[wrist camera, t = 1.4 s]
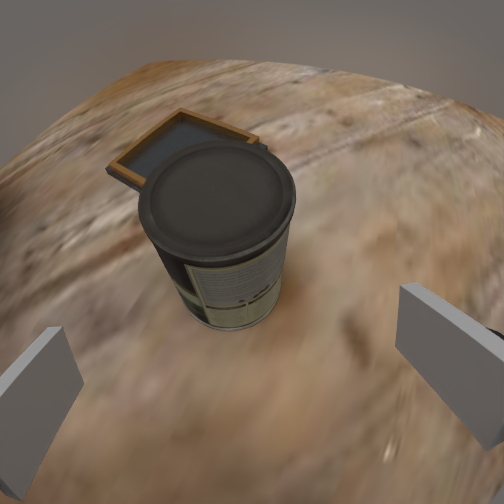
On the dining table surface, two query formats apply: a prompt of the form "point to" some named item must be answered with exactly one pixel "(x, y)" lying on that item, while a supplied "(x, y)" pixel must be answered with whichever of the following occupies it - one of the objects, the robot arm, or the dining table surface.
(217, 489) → the dining table surface
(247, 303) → the coffee can
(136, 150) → the mount plate
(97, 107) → the dining table surface
